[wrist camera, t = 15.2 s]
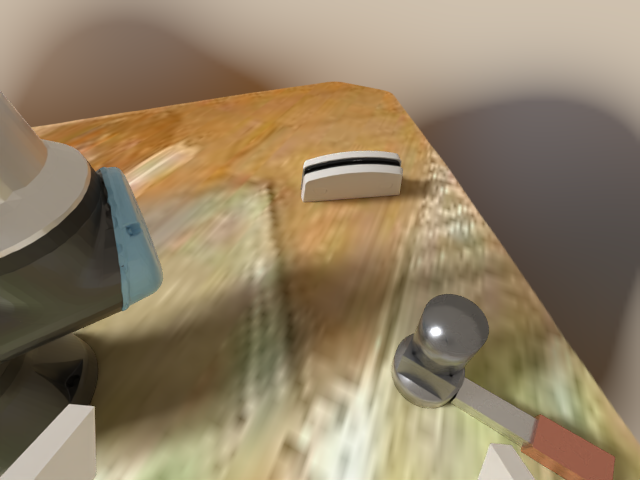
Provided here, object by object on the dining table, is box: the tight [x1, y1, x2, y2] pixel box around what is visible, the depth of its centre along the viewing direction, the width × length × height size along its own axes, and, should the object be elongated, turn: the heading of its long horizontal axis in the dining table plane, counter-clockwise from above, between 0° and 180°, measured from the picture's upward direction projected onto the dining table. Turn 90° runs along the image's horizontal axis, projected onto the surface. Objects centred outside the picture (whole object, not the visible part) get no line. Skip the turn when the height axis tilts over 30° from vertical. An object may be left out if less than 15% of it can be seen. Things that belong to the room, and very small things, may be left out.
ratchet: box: [392, 334, 615, 480], centre depth 31 cm, size 20×7×6 cm, turn 55°
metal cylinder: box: [396, 294, 489, 401], centre depth 30 cm, size 5×5×10 cm
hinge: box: [301, 151, 403, 202], centre depth 53 cm, size 17×5×10 cm, turn 94°
